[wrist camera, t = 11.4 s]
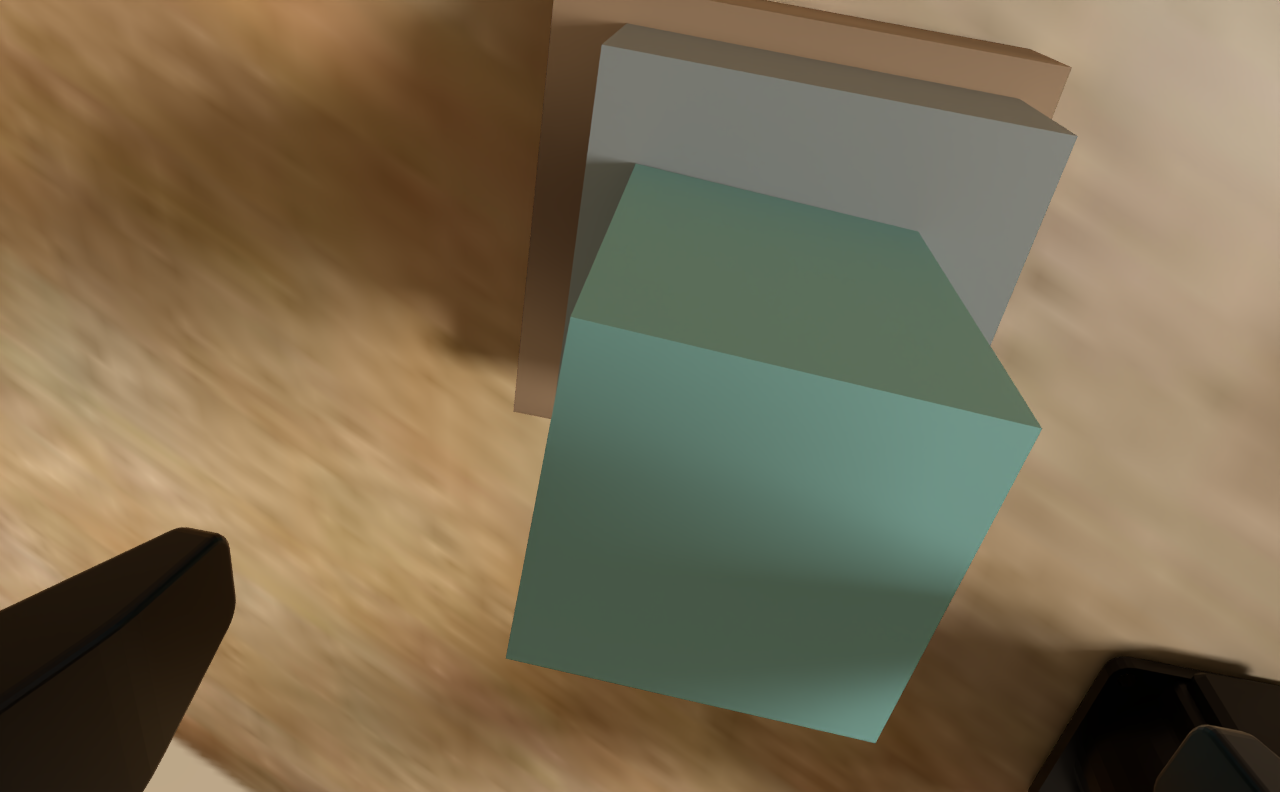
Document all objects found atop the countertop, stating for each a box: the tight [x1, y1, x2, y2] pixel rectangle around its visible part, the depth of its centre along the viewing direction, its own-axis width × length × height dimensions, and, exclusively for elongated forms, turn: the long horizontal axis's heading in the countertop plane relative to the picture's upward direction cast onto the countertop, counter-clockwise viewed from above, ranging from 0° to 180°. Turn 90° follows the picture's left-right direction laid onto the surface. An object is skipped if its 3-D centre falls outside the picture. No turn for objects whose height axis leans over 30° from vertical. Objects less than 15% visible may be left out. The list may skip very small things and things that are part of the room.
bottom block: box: [514, 0, 1072, 419], centre depth 18 cm, size 9×9×3 cm
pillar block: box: [506, 164, 1042, 743], centre depth 12 cm, size 4×4×6 cm
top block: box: [555, 23, 1077, 396], centre depth 15 cm, size 7×7×3 cm
